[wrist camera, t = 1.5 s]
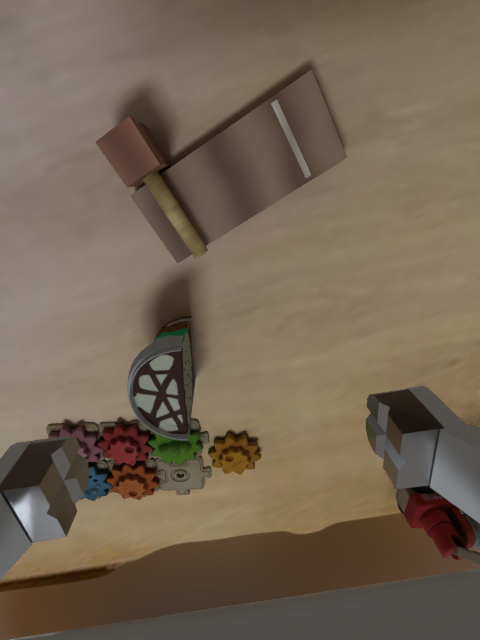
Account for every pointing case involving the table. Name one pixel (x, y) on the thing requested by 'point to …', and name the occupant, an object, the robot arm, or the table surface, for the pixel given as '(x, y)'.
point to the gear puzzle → (138, 465)
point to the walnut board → (248, 166)
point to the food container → (165, 381)
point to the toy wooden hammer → (147, 173)
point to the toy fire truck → (441, 522)
